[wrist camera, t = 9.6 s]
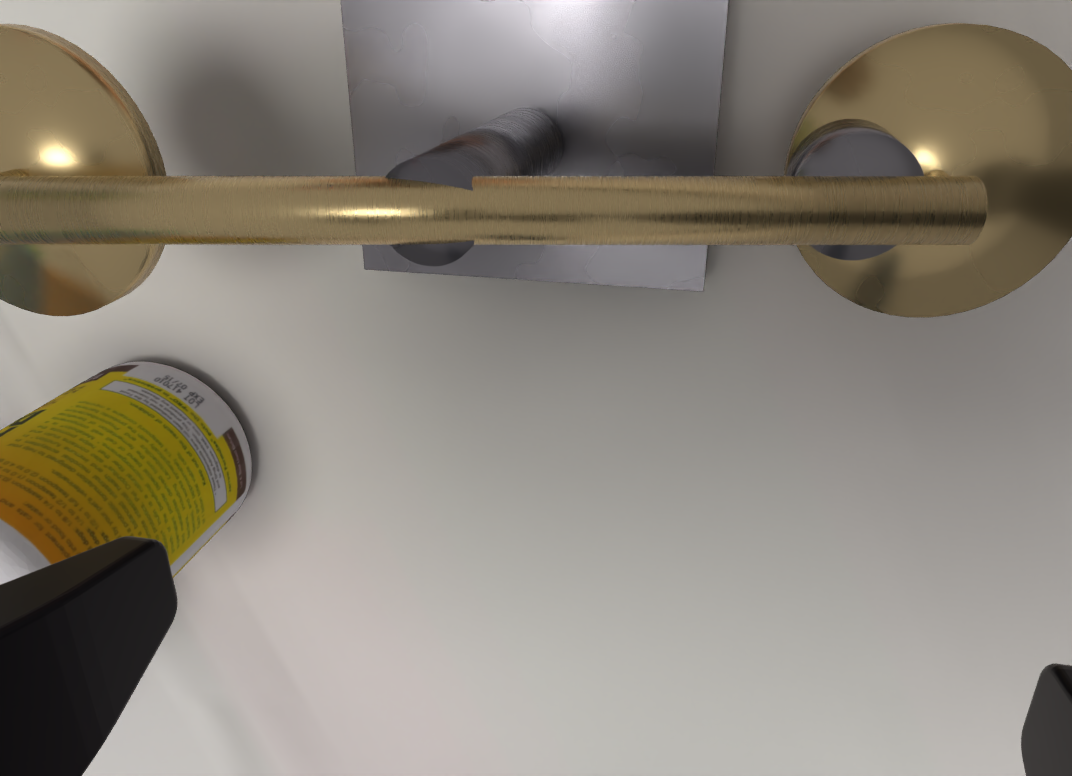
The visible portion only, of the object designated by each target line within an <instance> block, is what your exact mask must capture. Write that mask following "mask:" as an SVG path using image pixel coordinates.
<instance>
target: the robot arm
mask: <svg viewBox="0 0 1072 776" xmlns="http://www.w3.org/2000/svg"><path fill="white" fill-rule="evenodd" d="M176 610H177V594H176V590H175V585H174V581H173V577H172V572H171V568H170V563H169V559H168V554H167V551H166V548H165V547H164V545H163V544H162V543H161V542H160V541H158V540H155V539H149V538H142V537H134V536H124V537H120V538H118V539H115V540H113V541H110V542H107V543H105V544H102V545H100V546H97V547H95V548H92V549H90V550H87V551H85V552H82V553H80V554H77V555H74V556H72V557H69V558H67V559H64V560H62V561H59V562H57V563H54V564H52V565H49V566H47V567H44V568H41V569H39V570H36V571H34V572H31V573H29V574H26V575H24V576H21V577H19V578H16V579H14V580H11V581H8V582H6V583H3V584H1V585H0V776H82V775H83V773H84V772H85V770H86V769H87V768H88V766H89V765H90V763H91V762H92V760H93V759H94V757H95V756H96V754H97V753H98V751H99V750H100V748H101V747H102V745H103V744H104V742H105V740H106V739H107V737H108V735H109V734H110V732H111V730H112V729H113V727H114V725H115V724H116V722H117V720H118V718H119V717H120V715H121V713H122V711H123V710H124V708H125V706H126V704H127V702H128V701H129V699H130V697H131V695H132V694H133V692H134V690H135V688H136V686H137V685H138V683H139V681H140V679H141V678H142V676H143V674H144V672H145V670H146V669H147V667H148V665H149V663H150V662H151V660H152V658H153V656H154V655H155V653H156V651H157V649H158V647H159V646H160V644H161V642H162V640H163V639H164V637H165V635H166V633H167V631H168V630H169V628H170V626H171V624H172V622H173V620H174V617H175V614H176ZM1021 750H1022V758H1023V763H1024V768H1025V773H1026V776H1072V666H1070V665H1063V664H1051V665H1048V666H1046V667H1045V668H1044V669H1043V671H1042V672H1041V674H1040V677H1039V680H1038V683H1037V686H1036V689H1035V692H1034V695H1033V698H1032V701H1031V704H1030V707H1029V710H1028V713H1027V717H1026V720H1025V723H1024V726H1023V730H1022V736H1021Z"/></svg>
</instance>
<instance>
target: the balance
mask: <svg viewBox="0 0 1072 776" xmlns="http://www.w3.org/2000/svg"><path fill="white" fill-rule="evenodd" d="M728 5H729V0H341V11H342V22H343V33H344V44H345V56H346V67H347V78H348V89H349V101H350V112H351V123H352V134H353V146H354V157H355V168H356V176H166V172H165V168H164V163H163V160H162V157H161V154H160V151H159V148H158V146H157V143H156V140H155V138H154V136H153V134H152V132H151V130H150V128H149V126H148V123H147V122H146V120H145V118H144V117H143V115H142V113H141V112H140V110H139V108H138V107H137V105H136V103H135V102H134V101H133V99H132V98H131V97H130V95H129V94H128V93H127V91H126V90H125V89H124V87H123V86H122V85H121V84H120V83H119V82H118V81H117V80H116V79H115V77H114V76H113V75H112V74H111V73H110V72H109V71H108V70H107V69H106V68H105V67H103V66H102V65H101V64H100V63H99V62H98V61H97V60H96V59H94V58H93V57H92V56H90V55H89V54H88V53H86V52H85V51H83V50H82V49H81V48H79V47H78V46H76V45H74V44H73V43H71V42H69V41H67V40H65V39H64V38H62V37H60V36H58V35H55V34H52V33H50V32H47V31H45V30H42V29H38V28H34V27H30V26H26V25H16V24H0V299H1V300H3V301H5V302H7V303H9V304H12V305H14V306H16V307H19V308H21V309H24V310H28V311H31V312H35V313H38V314H45V315H51V316H72V315H79V314H84V313H87V312H91V311H94V310H97V309H99V308H101V307H103V306H105V305H107V304H109V303H111V302H113V301H115V300H118V299H119V298H121V297H123V296H125V295H127V294H129V293H131V292H132V291H133V290H134V289H136V288H137V287H138V286H140V285H141V284H142V283H143V282H144V280H145V279H146V278H147V277H148V276H149V275H150V274H151V272H152V270H153V269H154V267H155V266H156V264H157V263H158V261H159V258H160V256H161V254H162V251H163V249H164V246H165V244H221V245H362V247H363V258H364V269H366V270H381V271H397V272H412V273H427V274H443V275H458V276H473V277H489V278H504V279H519V280H535V281H550V282H565V283H581V284H596V285H612V286H627V287H642V288H658V289H673V290H688V291H703V290H704V282H705V272H706V260H707V249H708V245H797V247H798V248H799V250H800V252H801V254H802V256H803V257H804V259H805V261H806V262H807V263H808V265H809V266H810V267H811V269H812V270H813V271H814V272H815V274H816V275H817V276H818V277H819V278H820V279H821V280H822V281H823V282H824V283H825V284H827V285H828V286H829V287H830V288H832V289H833V290H834V291H836V292H837V293H838V294H840V295H841V296H843V297H845V298H847V299H848V300H850V301H852V302H854V303H856V304H858V305H860V306H863V307H865V308H868V309H871V310H873V311H877V312H881V313H885V314H889V315H896V316H903V317H936V316H946V315H951V314H956V313H960V312H965V311H968V310H971V309H974V308H977V307H980V306H983V305H986V304H988V303H990V302H993V301H995V300H997V299H999V298H1001V297H1003V296H1005V295H1007V294H1009V293H1010V292H1012V291H1014V290H1015V289H1017V288H1019V287H1020V286H1022V285H1023V284H1025V283H1026V282H1027V281H1029V280H1030V279H1031V278H1033V277H1034V276H1035V275H1037V274H1038V273H1039V272H1040V271H1041V270H1042V269H1043V268H1044V267H1045V266H1047V265H1048V264H1049V263H1050V262H1051V261H1052V260H1053V259H1054V258H1055V257H1056V255H1057V254H1058V253H1059V252H1060V251H1061V250H1062V248H1063V247H1064V246H1065V245H1066V244H1067V242H1068V241H1069V239H1070V238H1071V236H1072V70H1071V69H1070V68H1069V67H1068V66H1067V65H1066V64H1065V63H1064V61H1063V60H1062V59H1060V58H1059V57H1058V56H1057V55H1055V54H1054V53H1053V52H1052V51H1050V50H1049V49H1048V48H1047V47H1045V46H1043V45H1041V44H1040V43H1038V42H1036V41H1034V40H1032V39H1031V38H1029V37H1027V36H1024V35H1021V34H1019V33H1016V32H1013V31H1010V30H1007V29H1002V28H998V27H993V26H988V25H979V24H965V23H949V24H935V25H930V26H925V27H919V28H915V29H912V30H908V31H905V32H902V33H899V34H896V35H894V36H891V37H889V38H887V39H885V40H883V41H880V42H878V43H876V44H874V45H873V46H871V47H869V48H868V49H866V50H864V51H863V52H861V53H859V54H858V55H856V56H855V57H854V58H853V59H851V60H850V61H849V62H847V63H846V64H845V65H844V66H842V67H841V68H840V69H839V70H838V71H837V72H836V73H835V74H834V75H833V76H832V77H831V78H830V79H829V80H828V81H827V82H826V83H825V84H824V85H823V86H822V88H821V89H820V90H819V91H818V93H817V94H816V95H815V96H814V98H813V99H812V100H811V102H810V104H809V105H808V107H807V108H806V110H805V112H804V113H803V115H802V117H801V119H800V121H799V123H798V125H797V127H796V129H795V132H794V134H793V137H792V140H791V143H790V146H789V149H788V153H787V158H786V164H785V169H784V176H714V167H715V156H716V144H717V133H718V121H719V109H720V98H721V86H722V75H723V63H724V51H725V40H726V28H727V17H728Z"/></svg>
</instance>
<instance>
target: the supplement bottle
mask: <svg viewBox="0 0 1072 776" xmlns="http://www.w3.org/2000/svg"><path fill="white" fill-rule="evenodd" d="M251 474H252V461H251V454H250V449H249V445H248V442H247V439H246V436H245V433H244V431H243V429H242V427H241V425H240V423H239V421H238V419H237V418H236V416H235V414H234V413H233V412H232V411H231V409H230V408H229V407H228V405H227V404H226V403H225V402H224V401H223V400H222V399H221V398H220V397H219V396H218V395H217V394H216V393H215V392H214V391H213V390H212V389H211V388H209V387H208V386H207V385H205V384H204V383H203V382H201V381H200V380H198V379H197V378H195V377H193V376H192V375H190V374H188V373H186V372H183V371H181V370H179V369H176V368H174V367H171V366H167V365H163V364H159V363H154V362H129V363H123V364H119V365H116V366H113V367H111V368H108V369H106V370H104V371H102V372H100V373H98V374H97V375H95V376H93V377H91V378H89V379H88V380H86V381H84V382H82V383H80V384H79V385H77V386H75V387H73V388H72V389H70V390H68V391H67V392H65V393H63V394H61V395H60V396H58V397H56V398H55V399H53V400H51V401H50V402H48V403H46V404H45V405H43V406H41V407H40V408H38V409H36V410H34V411H33V412H31V413H29V414H27V415H26V416H24V417H22V418H20V419H19V420H17V421H15V422H14V423H12V424H10V425H9V426H7V427H5V428H4V429H2V430H0V585H1V584H3V583H6V582H8V581H11V580H14V579H16V578H19V577H21V576H24V575H26V574H29V573H31V572H34V571H36V570H39V569H41V568H44V567H47V566H49V565H52V564H54V563H57V562H59V561H62V560H64V559H67V558H69V557H72V556H74V555H77V554H80V553H82V552H85V551H87V550H90V549H92V548H95V547H97V546H100V545H102V544H105V543H107V542H110V541H113V540H115V539H118V538H120V537H124V536H134V537H142V538H149V539H155V540H158V541H160V542H161V543H162V544H163V545H164V547H165V548H166V551H167V554H168V559H169V563H170V568H171V572H172V577H174V576H175V575H176V574H177V573H178V572H179V571H180V570H181V569H182V568H183V567H184V566H185V565H186V564H187V563H188V562H189V561H190V560H191V559H192V558H193V557H194V556H195V555H196V553H197V552H198V551H199V550H200V549H201V548H202V547H203V546H204V545H205V544H206V543H207V542H208V541H209V540H210V539H211V538H212V537H213V536H214V535H215V534H216V533H217V532H218V531H219V530H220V529H221V528H222V527H223V526H224V525H225V524H226V523H227V522H228V521H229V520H230V518H231V517H232V516H233V515H234V514H235V513H236V511H237V510H238V509H239V508H240V506H241V505H242V503H243V501H244V499H245V497H246V495H247V492H248V489H249V486H250V482H251Z"/></svg>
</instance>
